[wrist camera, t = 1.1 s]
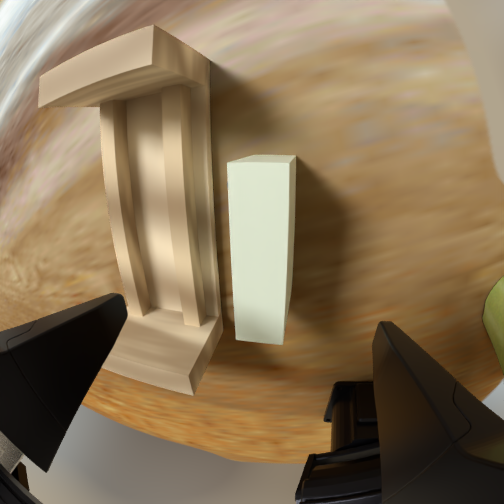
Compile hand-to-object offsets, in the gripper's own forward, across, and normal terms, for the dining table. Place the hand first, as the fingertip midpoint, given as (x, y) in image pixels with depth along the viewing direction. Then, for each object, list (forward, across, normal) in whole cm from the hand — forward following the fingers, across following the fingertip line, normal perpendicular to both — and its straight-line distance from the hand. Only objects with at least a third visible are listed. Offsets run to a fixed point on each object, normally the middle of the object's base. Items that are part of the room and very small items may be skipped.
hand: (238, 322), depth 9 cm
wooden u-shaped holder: (+10, +8, -1) cm, 13 cm away
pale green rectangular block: (+10, 0, 0) cm, 10 cm away
